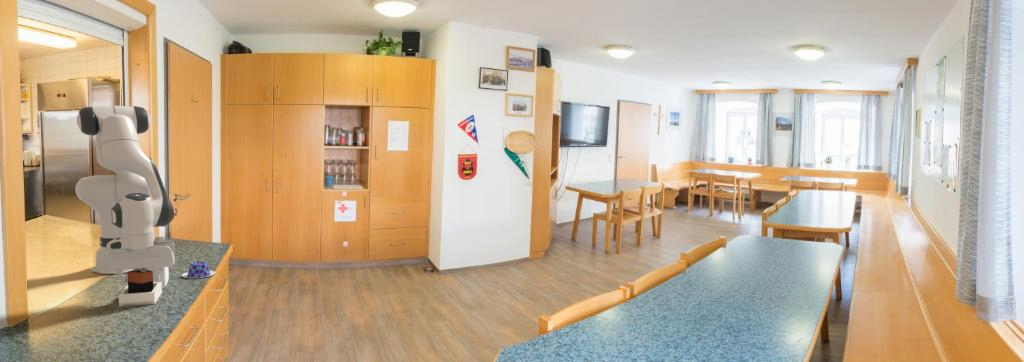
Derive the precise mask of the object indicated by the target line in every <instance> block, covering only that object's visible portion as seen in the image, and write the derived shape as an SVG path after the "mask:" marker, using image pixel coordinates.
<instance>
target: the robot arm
mask: <svg viewBox="0 0 1024 362" xmlns="http://www.w3.org/2000/svg"><path fill="white" fill-rule="evenodd" d="M76 124H77V127H78V128H79V130H80V132H81V133H82V134H84V135H87V136H91V137H95V149H96V150H95V152H96V161H97V163H98V165H99V166H100V167H102V168H104V169H106V170H108V171H111V172H114V173H115V174H116V175H115V174H109V175H107V174H105V175H104V174H103V175H101V174H99V175H91V176H85V177H81V178H80V179H79V180H78V181H77V183H76V185H75V188H74V189H75V190H74V191H75V195H76V196H77V198H78V199H79V200H80V201H81V202H83V203H85V204H87V205H88V206H89V207H91V208H92V209H93V211H94V212H95V214H97V217H98V219H99V226H100V234H101V235H100V238H99V246H100V247H99V248H98V249H97V250H96V252H95V267H93V268H91V269H90V272H91V273H97V274H103V275H111V274H114V275H115V274H116V275H118V277H119V278H120V283H123V284H124V283H128V275H126V276H125V275H124V274H125V273H127V272H128V271H132V270H134V269H142V268H147V269H153V268H157V270H159V272H158V274H155V275H154V280H159V279H160V273H161V271H162V270H163V267H168V268H171V267H172V266H173V265H174V264H175V263H176V260H175V258H176V257H175V253H174V252H175V251H176V250H175V249H176V244H175V243H174V242H173V241H171V240H170V239H164V240H162V239H159V240H156V239H155V229H154V228H155V227H158V228H159V227H167V225H169V224H170V223H171V222H172V221H173V220H174V219H175V210H174V207H173V204H172V201H171V200H170V198H169V196H168V193H167V191H166V188H165V185H164V183H163V181H162V178H161V175H160V172H159V171H158V168H157V165H156V163H155V161H154V160H153V158H152V157H149V156H148V155H147V154H146V153H145V152H144V151H143V150H142V148H141V145H140V140H139V134H140V135H141V134H144V133H146V132H147V131H148V130H149V127H150V124H151V118H150V115H149V113H148V110H146V109H145V108H144V107H143V106H138V105H137V106H135V105H134V106H127V105H126V106H125V105H107V106H103V105H102V106H93V107H92V106H87V107H81V109H80V110H79V111H78V113H77V116H76Z"/></svg>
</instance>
